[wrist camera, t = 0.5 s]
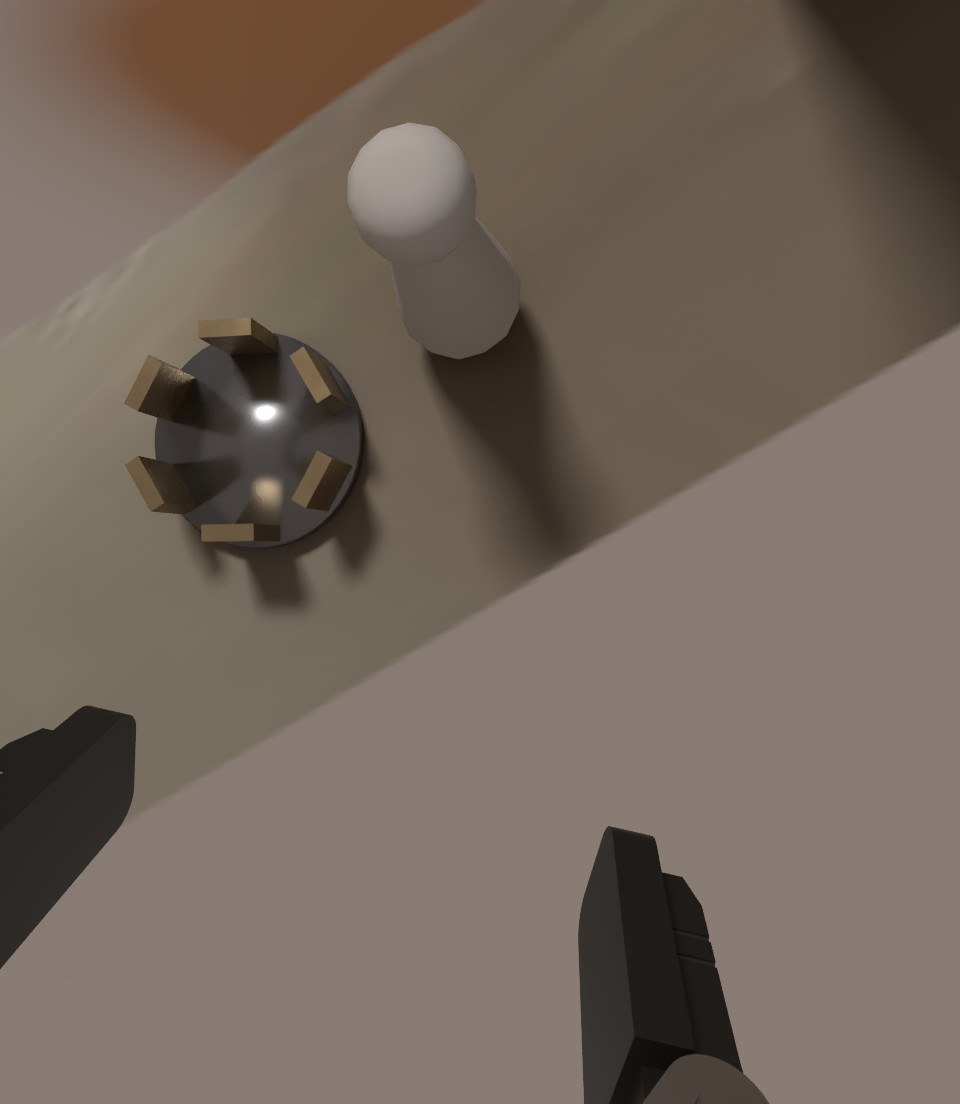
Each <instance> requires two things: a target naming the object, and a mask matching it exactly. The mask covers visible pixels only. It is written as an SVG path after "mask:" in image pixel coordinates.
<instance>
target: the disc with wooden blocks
mask: <svg viewBox="0 0 960 1104" xmlns="http://www.w3.org/2000/svg"><path fill="white" fill-rule="evenodd" d="M199 338H200V339H202V340H204V341H205V342H207V343H209V344H211V345H210V346H208V347H206V348H205V349H203V350H202V351H200V352H199V353H198V354H197V355H195V356H194V357H193V358H192V359H191V360H190V361H189V362H188V363H187V364H186V365H185V366H184V367H183V368H182V369H179V368H177V367H174V366H172V365H170V364H168V363H166V362H163V361H161V360H159V359H157V358H155V357H152V356H150V355H148V357H147V359H146V361H145V363H144V365H143V367H142V369H141V371H140V373H139V375H138V377H137V379H136V381H135V383H134V385H133V387H132V389H131V391H130V393H129V395H128V397H127V399H126V401H125V403H124V404H126V405H128V406H130V407H131V408H133V409H135V410H137V411H139V412H142V413H145V414H149V415H152V416H155V417H158V418H157V424H156V430H155V453H156V460H154V459H149V458H145V457H140V456H138V457H136V458H135V459H133V460H132V461H130V462H129V463H127V464H126V465H125V466H126V468H127V469H128V471H129V473H130V475H131V477H132V478H133V480H134V482H135V484H136V486H137V487H138V489H139V491H140V493H141V495H142V496H143V498H144V500H145V502H146V504H147V505H148V507H149V509H150V511H152V512H163V513H174V514H182V515H183V516H184V517H185V518H186V519H187V520H188V521H189V522H190V523H191V524H192V525H193V526H194V527H196V528H197V529H199V530H200V531H201V542H224V543H227V544H230V545H235V546H240V547H251V548H267V547H277V546H282V545H286V544H290V543H293V542H295V541H298V540H301V539H303V538H305V537H307V536H308V535H310V534H312V533H314V532H315V531H317V530H318V529H319V528H321V527H322V526H324V525H325V524H326V523H327V522H328V521H329V520H330V519H331V518H332V517H333V516H334V515H335V514H336V513H337V512H338V511H339V509H340V508H341V507H342V506H343V504H344V503H345V501H346V499H347V498H348V496H349V495H350V493H351V491H352V489H353V487H354V484H355V482H356V480H357V477H358V473H359V470H360V467H361V462H362V456H363V445H364V435H363V424H362V419H361V414H360V410H359V407H358V404H357V401H356V398H355V396H354V394H353V392H352V390H351V388H350V386H349V385H348V383H347V382H346V380H345V379H344V377H343V376H342V374H341V373H340V372H339V371H338V370H337V369H336V368H335V366H334V365H333V364H332V363H331V362H329V361H328V360H327V359H326V358H325V357H323V356H322V355H321V354H320V353H318V352H317V351H316V350H314V349H312V348H311V347H309V346H308V345H306V344H304V343H302V342H300V341H298V340H296V339H293V338H290V337H287V336H284V335H280V334H274V333H272V332H270V331H269V330H267V329H266V328H265V327H263V326H262V325H260V324H259V323H258V322H256V321H255V320H253V319H252V318H237V319H220V320H204V321H199Z"/></svg>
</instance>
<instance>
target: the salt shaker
mask: <svg viewBox="0 0 960 1104" xmlns="http://www.w3.org/2000/svg"><path fill="white" fill-rule="evenodd" d="M348 205H349V208H350V212H351V214H352V216H353V219H354V221H355V223H356V226H357V228H358V230H359V233H360V235H361V237H362V239H363V240H364V241H365V242H366V243H367V244H368V245H369V246H370V247H371V248H373V249H374V250H375V251H376V252H378V253H379V254H380V255H381V256H383V257H384V258H385V259H387V260H388V261H390V267H391V272H392V277H393V283H394V288H395V294H396V299H397V304H398V310H399V312H400V315H401V317H402V319H403V322H404V324H405V326H406V328H407V331H408V333H409V335H410V336H411V337H412V338H413V339H415V340H416V341H417V342H419V343H420V344H421V345H422V346H424V347H425V348H426V349H427V350H429V351H430V352H432V353H435V354H439V355H443V356H447V357H451V358H455V359H462V358H466V357H470V356H474V355H478V354H481V353H485V352H486V351H487V350H489V349H490V348H491V347H493V346H494V345H495V344H497V343H498V342H499V341H501V340H502V339H503V338H504V337H506V336H507V334H508V332H509V329H510V327H511V325H512V323H513V321H514V319H515V317H516V315H517V313H518V310H519V298H520V278H519V276H518V274H517V272H516V269H515V267H514V265H513V263H512V261H511V259H510V257H509V255H508V253H507V252H506V251H505V250H504V249H503V247H502V246H501V245H500V244H499V243H498V242H497V240H496V239H495V238H494V237H493V236H492V235H491V233H490V232H489V231H488V230H487V229H486V228H485V226H484V225H483V224H482V223H481V222H480V220H479V219H478V218H477V217H476V216H475V209H476V183H475V178H474V176H473V174H472V172H471V169H470V167H469V165H468V163H467V161H466V159H465V157H464V155H463V153H462V151H461V150H460V148H459V147H458V145H457V144H456V143H455V142H454V141H452V140H451V139H450V138H449V137H447V136H446V135H445V134H444V133H442V132H441V131H440V130H439V129H437V128H436V127H432V126H426V125H420V124H414V123H406V124H402V125H399V126H395V127H391V128H388V129H384V130H382V131H380V132H379V133H378V134H377V135H376V136H375V137H374V138H372V139H371V140H370V141H369V142H368V143H367V144H366V145H365V146H363V147H362V148H361V149H360V151H359V153H358V155H357V157H356V159H355V161H354V163H353V166H352V168H351V170H350V172H349V174H348Z"/></svg>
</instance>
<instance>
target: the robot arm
mask: <svg viewBox="0 0 960 1104" xmlns="http://www.w3.org/2000/svg"><path fill="white" fill-rule="evenodd" d="M135 743H136V723H135V719H134V718H133V716H131V715H128V714H123V713H119V712H115V711H110V710H106V709H102V708H97V707H93V706H84V707H81V708H80V709H79V710H77V711H76V712H75V713H74V714H72V715H71V716H70V717H69V718H68V719H66V720H65V721H64V722H63V723H62V724H60V725H59V726H58V727H57V728H56V729H54V730H49V729H44V728H42V729H40V730H38V731H35V732H33V733H31V734H29V735H26V736H24V737H22V738H19V739H17V740H15V741H13V742H10V743H8V744H7V745H5V746H4V747H3V748H2V749H0V969H1V968H2V966H3V965H4V964H5V963H6V961H7V960H8V959H9V958H10V957H11V956H12V955H13V953H14V952H15V951H16V949H18V947H19V946H20V945H21V944H22V943H23V941H24V940H25V939H26V938H27V937H28V936H29V934H30V933H31V932H32V931H33V930H34V928H35V927H36V926H37V925H38V924H39V922H40V921H41V920H42V919H43V918H44V917H45V915H46V914H47V913H48V912H49V911H50V909H51V908H52V907H53V906H54V905H55V904H56V902H57V901H58V900H59V899H60V897H61V896H62V895H63V894H64V893H65V892H66V890H67V889H68V888H69V887H70V886H71V885H72V883H73V882H74V881H75V880H76V879H77V877H78V876H79V875H80V874H81V873H82V871H83V870H84V869H85V868H86V866H87V865H88V864H89V863H90V862H91V861H92V859H93V858H94V857H95V856H96V855H97V854H98V852H99V851H100V850H101V849H102V848H103V847H104V845H105V844H106V843H107V842H108V841H109V839H110V838H111V837H112V836H113V835H114V834H115V832H116V831H117V830H118V829H119V827H120V826H121V824H122V823H123V821H124V819H125V817H126V815H127V813H128V810H129V808H130V805H131V802H132V798H133V793H134V772H135ZM578 945H579V972H580V1000H581V1025H582V1026H581V1027H582V1055H583V1082H584V1104H769V1102H768V1101H767V1099H766V1098H765V1096H764V1095H763V1094H762V1092H761V1091H760V1090H759V1089H758V1088H757V1086H756V1085H755V1084H754V1083H753V1082H752V1081H751V1080H750V1079H749V1078H748V1077H747V1076H746V1075H744V1074H743V1071H742V1067H741V1064H740V1060H739V1056H738V1052H737V1048H736V1044H735V1039H734V1036H733V1031H732V1027H731V1024H730V1019H729V1015H728V1011H727V1007H726V1003H725V999H724V995H723V991H722V987H721V982H720V979H719V974H718V970H717V968H715V958H714V954H713V950H712V946H711V943H710V942H709V934H708V930H707V925H706V922H705V917H704V913H703V909H702V906H701V904H700V903H699V901H698V900H697V898H696V897H695V895H694V894H693V892H692V891H691V889H690V888H689V886H688V885H687V883H686V882H685V880H684V879H683V877H679V876H675V875H671V874H667V873H662V871H661V866H660V861H659V855H658V850H657V845H656V841H655V838H653V836H650V835H645V834H641V833H637V832H633V831H628V830H624V829H619V828H615V827H611V826H608V827H607V828H606V830H605V832H604V834H603V837H602V840H601V844H600V847H599V850H598V853H597V856H596V859H595V862H594V866H593V870H592V872H591V875H590V878H589V882H588V885H587V888H586V891H585V895H584V898H583V902H582V907H581V912H580V920H579V931H578Z"/></svg>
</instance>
